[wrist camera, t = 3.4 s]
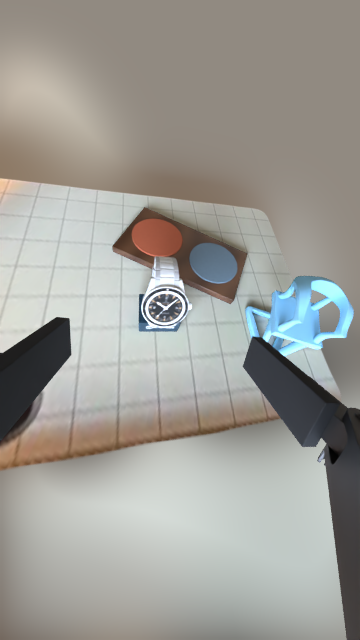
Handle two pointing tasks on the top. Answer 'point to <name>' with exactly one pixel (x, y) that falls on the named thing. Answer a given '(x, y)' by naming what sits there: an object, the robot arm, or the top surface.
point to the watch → (163, 298)
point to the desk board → (183, 256)
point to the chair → (301, 315)
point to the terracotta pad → (157, 237)
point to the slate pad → (213, 263)
